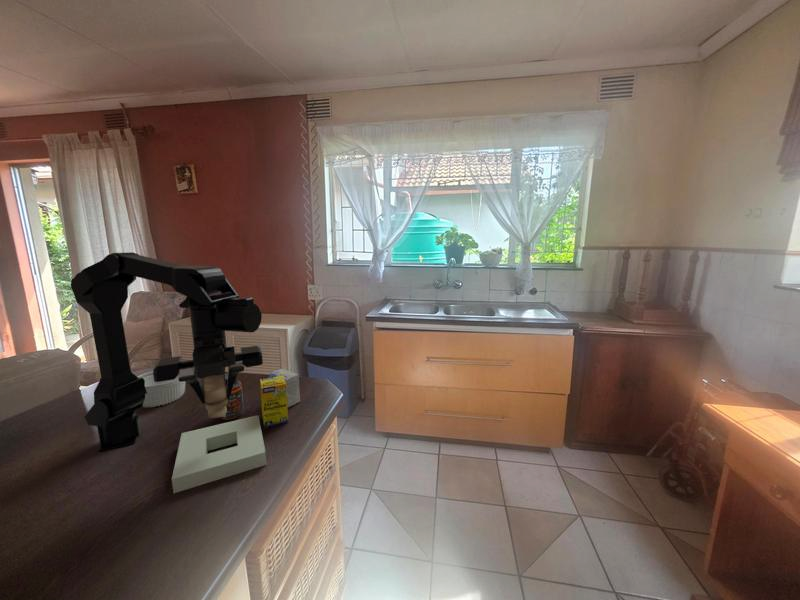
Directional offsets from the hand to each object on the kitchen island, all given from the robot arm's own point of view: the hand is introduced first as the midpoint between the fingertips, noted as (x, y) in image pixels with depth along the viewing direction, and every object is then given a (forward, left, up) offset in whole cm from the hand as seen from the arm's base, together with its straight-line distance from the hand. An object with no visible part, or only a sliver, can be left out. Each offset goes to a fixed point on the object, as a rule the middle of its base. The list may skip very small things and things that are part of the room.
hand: (216, 400), depth 66 cm
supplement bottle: (+2, +17, -13) cm, 22 cm away
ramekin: (-16, +37, -13) cm, 42 cm away
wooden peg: (0, 0, -3) cm, 3 cm away
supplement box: (+12, +9, -13) cm, 20 cm away
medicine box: (+16, +18, -13) cm, 28 cm away
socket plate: (0, 0, -13) cm, 13 cm away
